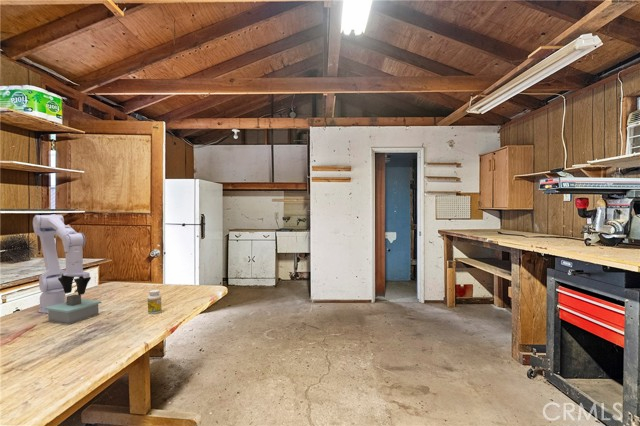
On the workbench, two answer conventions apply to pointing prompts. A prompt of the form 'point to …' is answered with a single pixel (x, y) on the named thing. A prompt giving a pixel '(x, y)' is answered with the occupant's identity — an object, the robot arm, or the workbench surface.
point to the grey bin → (73, 315)
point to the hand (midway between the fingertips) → (74, 293)
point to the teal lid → (72, 304)
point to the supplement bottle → (154, 302)
